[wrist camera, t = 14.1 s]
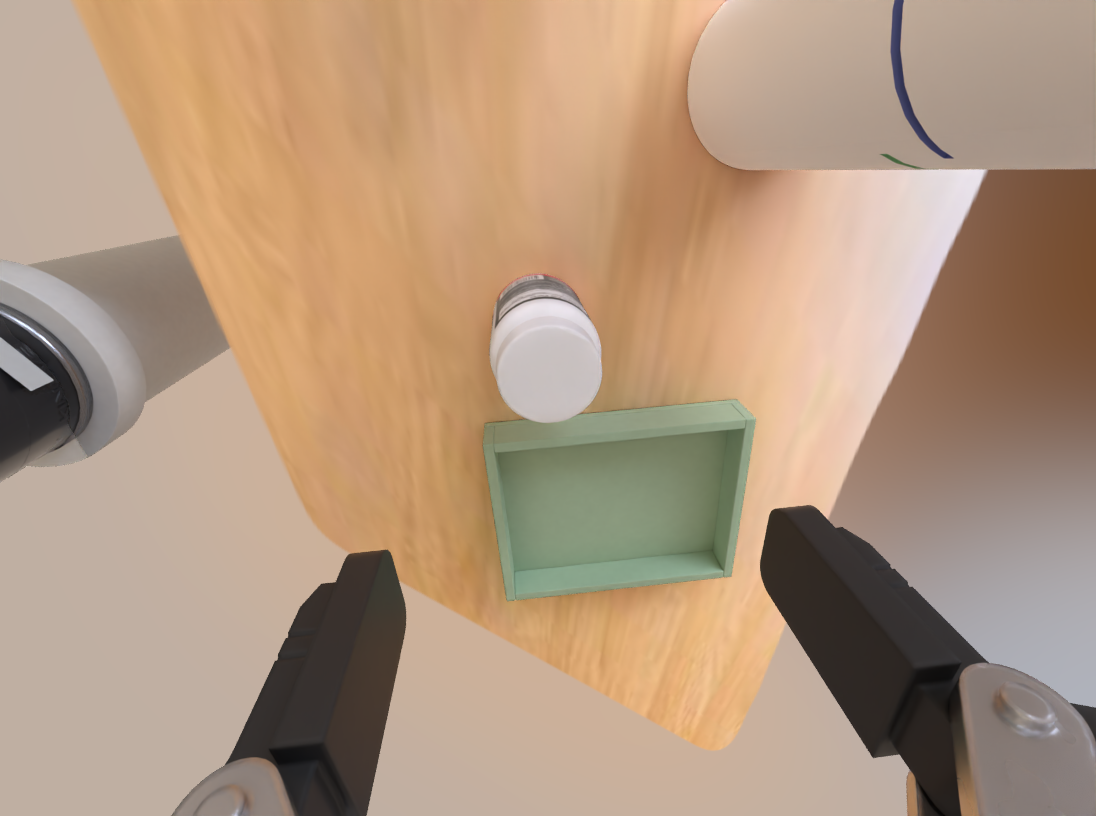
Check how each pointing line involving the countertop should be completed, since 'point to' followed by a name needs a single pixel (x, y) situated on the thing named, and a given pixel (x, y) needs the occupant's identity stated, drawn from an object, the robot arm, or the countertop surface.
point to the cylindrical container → (897, 84)
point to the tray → (618, 497)
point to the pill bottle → (544, 349)
